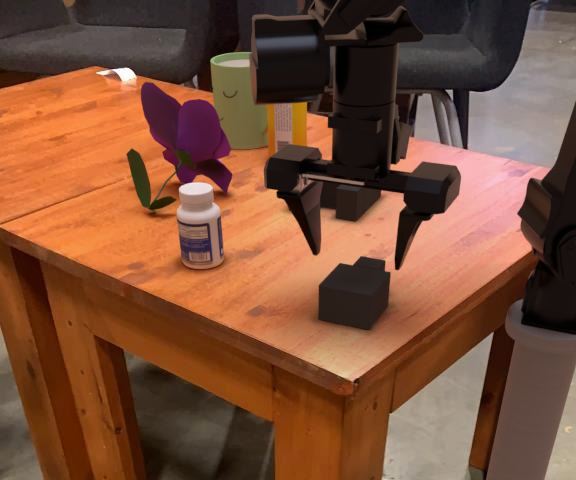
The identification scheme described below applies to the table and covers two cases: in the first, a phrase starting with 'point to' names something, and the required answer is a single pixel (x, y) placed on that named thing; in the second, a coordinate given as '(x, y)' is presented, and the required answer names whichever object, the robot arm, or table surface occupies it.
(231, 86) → the mug
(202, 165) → the flower
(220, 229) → the pill bottle
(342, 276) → the black block
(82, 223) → the table surface
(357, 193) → the black notched block
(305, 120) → the beer can
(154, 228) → the table surface
